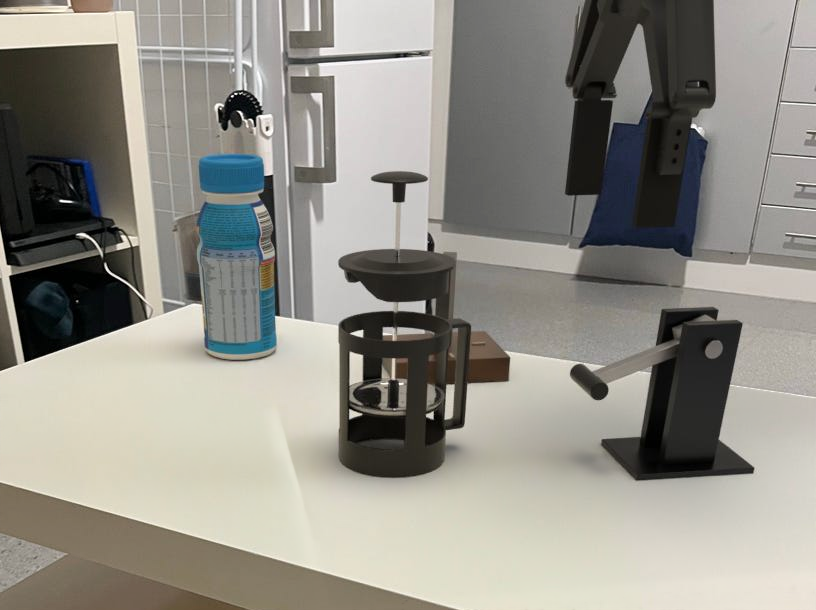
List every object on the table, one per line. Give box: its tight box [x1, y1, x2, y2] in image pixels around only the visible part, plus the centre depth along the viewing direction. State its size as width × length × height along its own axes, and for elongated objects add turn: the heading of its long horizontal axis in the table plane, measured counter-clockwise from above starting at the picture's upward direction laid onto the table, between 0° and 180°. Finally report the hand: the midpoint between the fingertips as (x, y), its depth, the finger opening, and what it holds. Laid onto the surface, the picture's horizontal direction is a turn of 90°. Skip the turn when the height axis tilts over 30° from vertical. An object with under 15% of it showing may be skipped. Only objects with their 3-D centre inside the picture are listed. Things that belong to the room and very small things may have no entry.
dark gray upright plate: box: [433, 251, 458, 340], centre depth 105 cm, size 5×1×9 cm, turn 168°
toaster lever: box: [569, 315, 716, 402], centre depth 80 cm, size 11×5×2 cm, turn 98°
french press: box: [337, 170, 472, 479], centre depth 80 cm, size 12×9×23 cm
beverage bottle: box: [195, 153, 278, 361], centre depth 110 cm, size 8×8×20 cm
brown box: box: [382, 330, 511, 385], centre depth 109 cm, size 12×10×3 cm
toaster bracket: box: [600, 306, 756, 482], centre depth 82 cm, size 10×8×13 cm
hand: (615, 210), depth 74 cm, fingers open, 13 cm apart
